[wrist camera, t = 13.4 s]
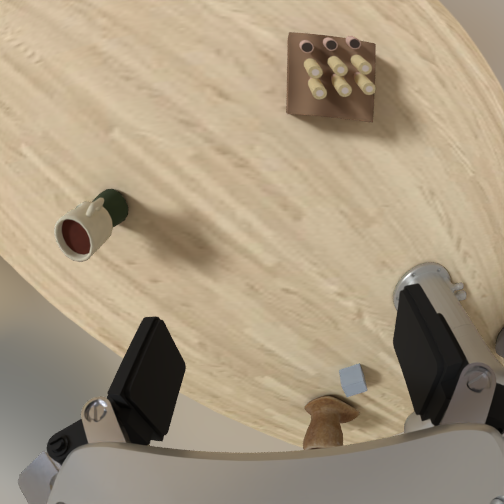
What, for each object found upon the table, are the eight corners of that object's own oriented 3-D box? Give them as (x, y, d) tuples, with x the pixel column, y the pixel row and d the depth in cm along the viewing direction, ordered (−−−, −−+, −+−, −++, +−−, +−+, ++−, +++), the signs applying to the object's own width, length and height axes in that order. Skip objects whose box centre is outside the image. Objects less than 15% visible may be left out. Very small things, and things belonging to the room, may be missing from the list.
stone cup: (292, 405, 71) (293, 454, 58) (329, 388, 66) (335, 440, 53) (325, 422, 75) (328, 466, 62) (359, 406, 70) (366, 452, 57)
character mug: (112, 168, 43) (66, 194, 32) (144, 193, 45) (105, 226, 34) (88, 216, 48) (46, 250, 36) (117, 239, 49) (80, 279, 38)
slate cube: (359, 363, 61) (363, 380, 57) (363, 374, 63) (367, 390, 59) (339, 370, 62) (341, 387, 58) (344, 380, 64) (346, 397, 60)
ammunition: (377, 94, 27) (364, 29, 23) (314, 100, 28) (299, 33, 25) (366, 94, 31) (354, 37, 28) (309, 100, 33) (296, 41, 29)
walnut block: (364, 49, 32) (375, 43, 28) (361, 119, 37) (372, 122, 33) (287, 40, 33) (289, 32, 28) (286, 112, 38) (287, 113, 34)
